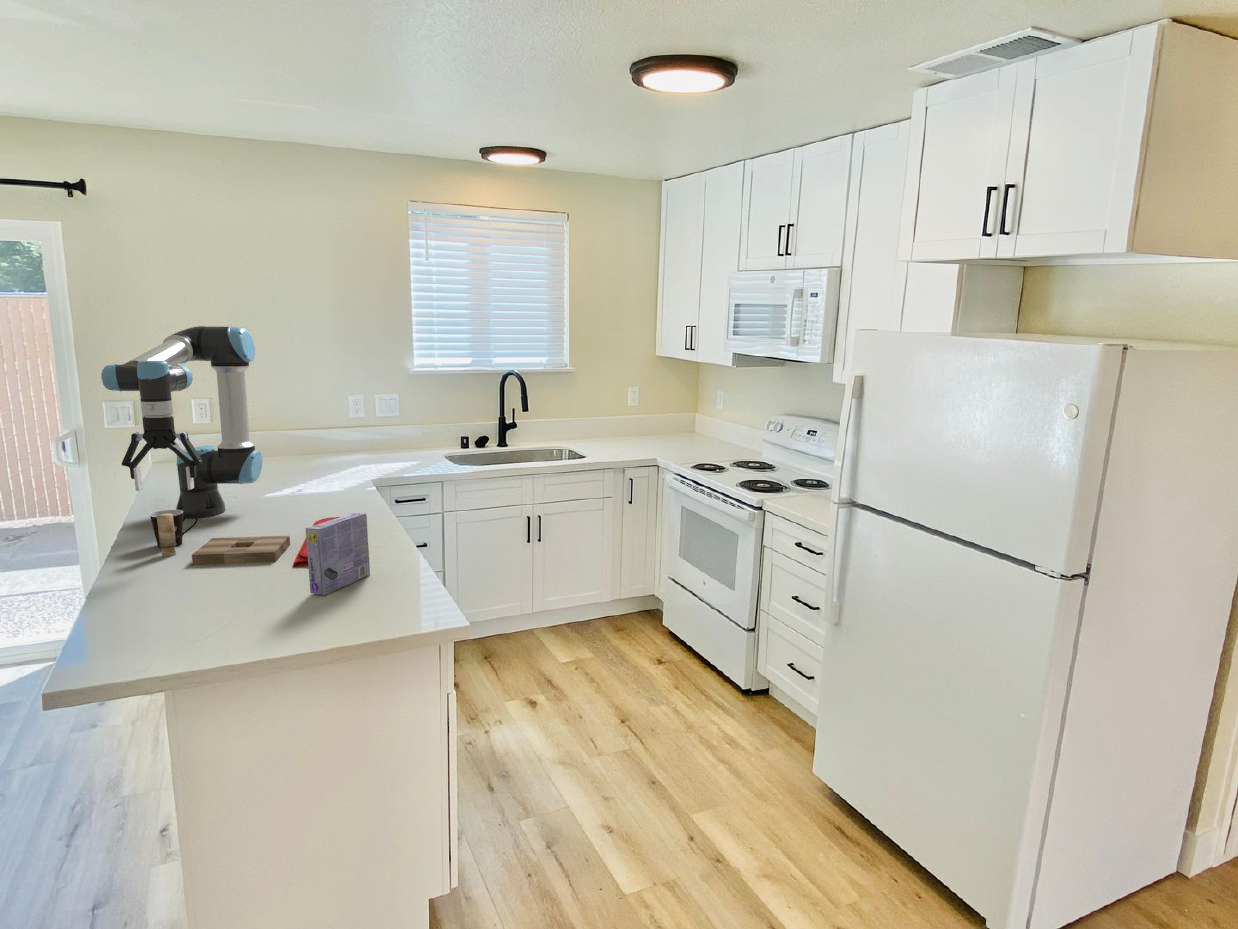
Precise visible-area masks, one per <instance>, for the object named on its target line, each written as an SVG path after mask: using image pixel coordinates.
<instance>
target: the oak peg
mask: <svg viewBox="0 0 1238 929" xmlns="http://www.w3.org/2000/svg"><path fill="white" fill-rule="evenodd" d="M157 523H158V532H159V541H160V547H161V548H160V549H161V556H162V558H163V557H164V558H169V557H173V556H176V553H177V552H176V547H175V546H176V540H175V530H174V521H173V514H160V515H158V516H157Z"/></svg>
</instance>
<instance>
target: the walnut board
mask: <svg viewBox="0 0 1238 929" xmlns="http://www.w3.org/2000/svg"><path fill="white" fill-rule="evenodd" d="M290 546H291V538H290V535H267V536H236V537H235V536H233V537H231V536H230V537H212V538H210V539H209V540H208V541H207V542H206V543H204V544H203V545H202V546H201V547H199V548H198V549H197V550H195V551H194V553H192V554H191V559H192V566H201V565H204V566H205V565H227V564H228V565H230V564H231V565H233V564H253V563H254V564H255V563H256V564H257V563H258V564H260V563H276V562H277V561H278V560H279V559H280V558H281V556H282V555H283V554H284V553H285V552H286V551H287V549H288V548H289V547H290Z"/></svg>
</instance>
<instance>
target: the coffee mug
mask: <svg viewBox="0 0 1238 929" xmlns="http://www.w3.org/2000/svg"><path fill="white" fill-rule="evenodd" d="M160 514H173V521H174V530H175V540H176V546H175V548H178V547H180V546H183V536H184V534H186V533H187V532H189V531H190V530H191V529H193V528H194V527H195V526H196V524H197V523H198V518H197V516H196V515H194V514H187V515H185V516H184V517H183V511H181V510H176V509H167V510H166V509H165V510H160V511H155V512H152V513H150V514H149V517H150V520H151V521H150V522H151V524H152V525H151V526H152V529H153V533H154V536H155V540H156V544H157V547H158V549H162V548H161V547H160V541H159V532H158V523H157V516H158V515H160ZM188 516H194V517H195V521H194V523H193V524H192V525H190V526H189V527H188V528H187V529H185V530H184V529H183V528H184V522H185V520H186V519H187V518H186V517H188ZM183 530H184V531H183Z"/></svg>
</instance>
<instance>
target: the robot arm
mask: <svg viewBox="0 0 1238 929" xmlns="http://www.w3.org/2000/svg"><path fill="white" fill-rule="evenodd" d="M255 354H256V347H255V344H254V340H253V337H252V336H251V333H250V332H249V330H247V329H246V328H244V327H238V326H232V325H231V326H202V325H200V326H198V325H197V326H193V327H189V328H185V329H182V330H180V331H176V332H175V333H173V334H171V335H169V336H167V337H166V338H164V339H163V341H162V343H161V344H159V345H157V346H154V348H151V349H149V350H147V351H145V352H144V353H142V354H140V355H138V356H136V357H134V358H133V359H130V360H129V361H127V362H125V363H122V364H116V363H115V364H108V365H105V366H104V367H103V368H102V370H101V375H100V377H101V383H102V385H103V386H104V388H105V389H107V390H108V391H115V392H116V391H118V392H139V396H140V399H139V400H140V408H141V415H142V416H143V417H142V428H143V433H140V432H137V431H136V432H135V433H132V434H130V435H131V437H130V443H129V445H128V448H127V450H126V453H125V454H124V457H123V458H122V461H121V466H122V467H127V468H129V472H130V478H131V480H134V485H135V487H134V488H135V491H136V492H140V491H141V490H144V489H143V488H144V486H143V479H142V470H141V466H139V464H140V463H141V461H142V460H143V459H144V458H145V457H146V455H147V454H148V453H149V452H150V451H151V449H154V450H158V449H162V450H165V449H169V450H170V451H172V452H173V453H174V454H175V455H176V466H177V477H178V485H179V496H178V501H177V504H176V507H175V510H181V511H183V517H184V516H185V515H187V514H194V515H196V516H197V519H198V518H207V517H212V516H216V515H219V514H222V513H224V512H225V511H226V504H225V501H224V499H223V497H222V495H221V493H220V491H219V484H220V485H221V484H222V485H223V484H224V485H225V484H228V485H230V484H234V485H235V484H237V485H238V484H239V485H243V484H253V483H255V482H256V481H257V480H258V479H259V477H260V475H261V473H262V468H263V455H262V452H261V451H259V450H257V449H256V447H255V446H256V445H255V443H253V442H252V441H251V440H250V431H249V430H250V428H249V414H248V399H247V385H246V374H245V372H246V370H248V369H249V367H250V362H253V361H254V359H255V356H256V355H255ZM195 361H198V362H201V361H202V362H210V367H211V368H212V369H213V370H214V371H215V373H216V380H217V392H218V394H217V395H218V406H219V408H218V409H219V418H220V419H219V420H220V432H221V433H220V434H221V442H220V443H219V444H218V445H217V450H216V448H215V447H214V445H202V446H195V447H194V445H193V444H192V442H191V440H190V438H189V434H188V432H187V431H183V432H179V433H176V431H175V430H176V429H175V420H174V416H173V414H174V410H173V399H172V393H173V392H180V391H183V390H185V389H188V388H189V387H190V386H191V385H192V383H193V380H194V378H193V373H192V370H190V369H189V368H188V367H187V366H185V365H182V364H186V363H188V362H195ZM142 439H143V440H144V441H145V442H146V443H145V445H143V447H142V449H141V450H140V451H139V452H138V453H137V455H136V456H135V457H134V455H135V453H136V451H137V448H138V445H139V444H140V441H142ZM176 439H178V440H179V441H180V442H181V444H182V445H183V447H184V448H185V449H182V448H181V447H180V446H179V444H178V443H177V442H176V441H175V440H176ZM133 457H134V459H133ZM187 518H188V519H193V518H195V517H194V516H188V517H186V518H185V519H187Z"/></svg>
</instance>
